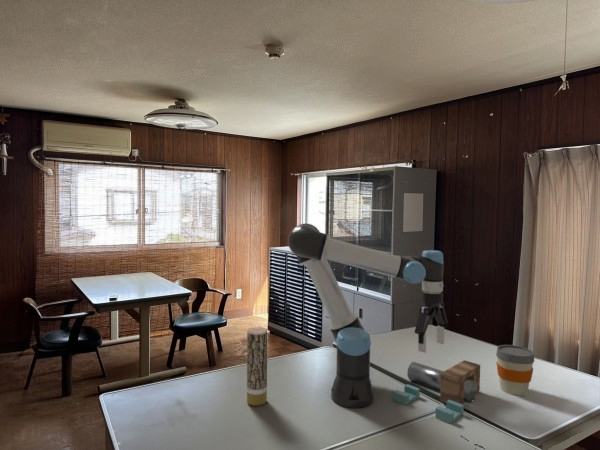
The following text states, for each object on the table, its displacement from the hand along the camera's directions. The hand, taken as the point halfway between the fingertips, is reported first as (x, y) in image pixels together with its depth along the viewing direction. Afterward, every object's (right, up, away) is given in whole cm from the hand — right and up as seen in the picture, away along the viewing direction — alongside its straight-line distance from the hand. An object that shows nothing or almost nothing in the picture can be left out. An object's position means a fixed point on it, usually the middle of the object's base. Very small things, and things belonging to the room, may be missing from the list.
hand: (431, 347), depth 154 cm
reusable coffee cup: (+30, -15, -2) cm, 34 cm away
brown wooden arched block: (+8, -15, -8) cm, 19 cm away
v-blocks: (-7, -15, -16) cm, 23 cm away
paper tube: (-65, -15, -14) cm, 68 cm away
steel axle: (+3, -15, -3) cm, 15 cm away
